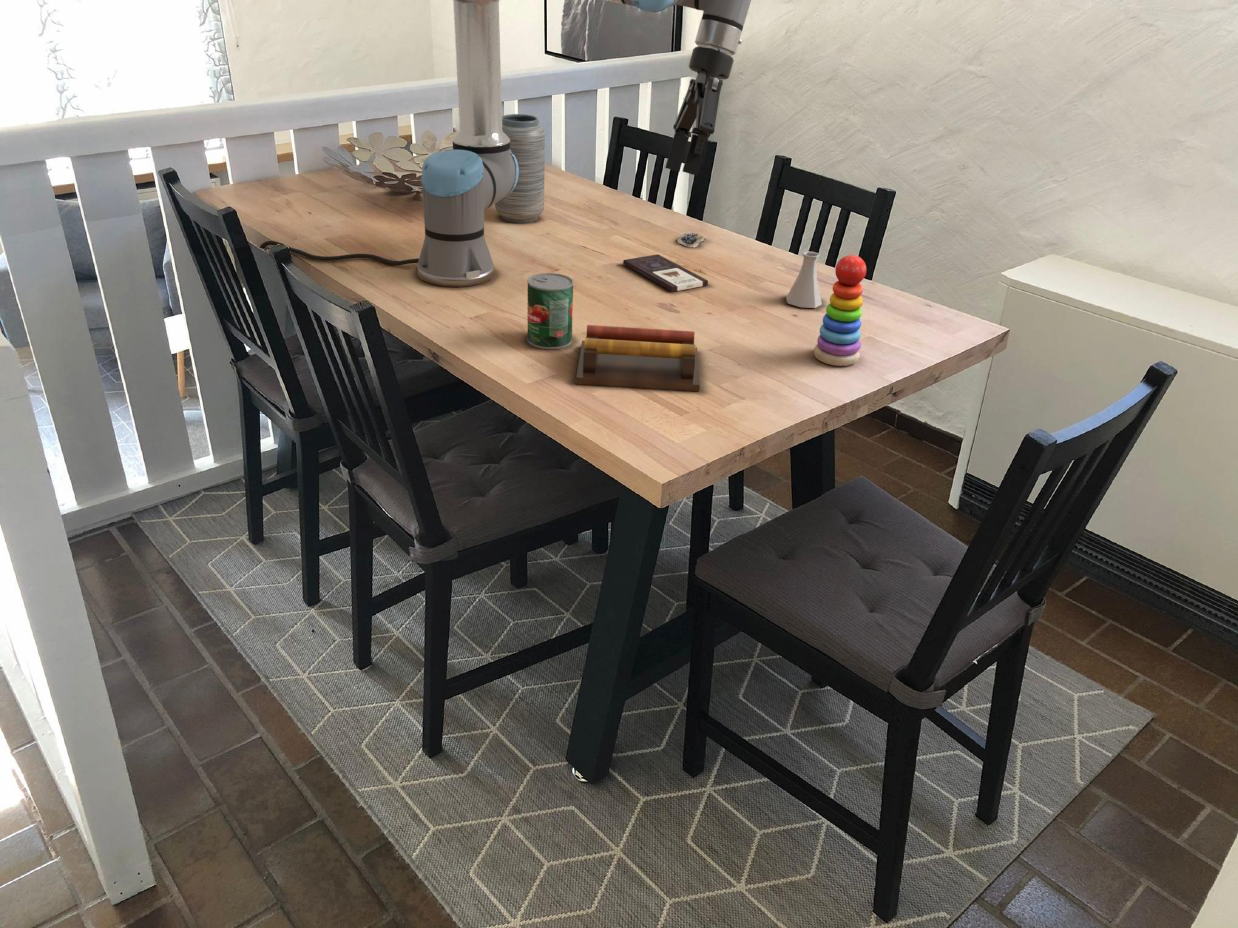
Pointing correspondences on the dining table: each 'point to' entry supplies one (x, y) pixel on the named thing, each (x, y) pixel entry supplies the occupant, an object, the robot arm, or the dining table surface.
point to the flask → (806, 284)
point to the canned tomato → (550, 310)
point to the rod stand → (639, 358)
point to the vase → (525, 169)
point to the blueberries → (690, 239)
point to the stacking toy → (843, 315)
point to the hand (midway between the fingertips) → (680, 172)
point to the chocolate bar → (665, 272)
